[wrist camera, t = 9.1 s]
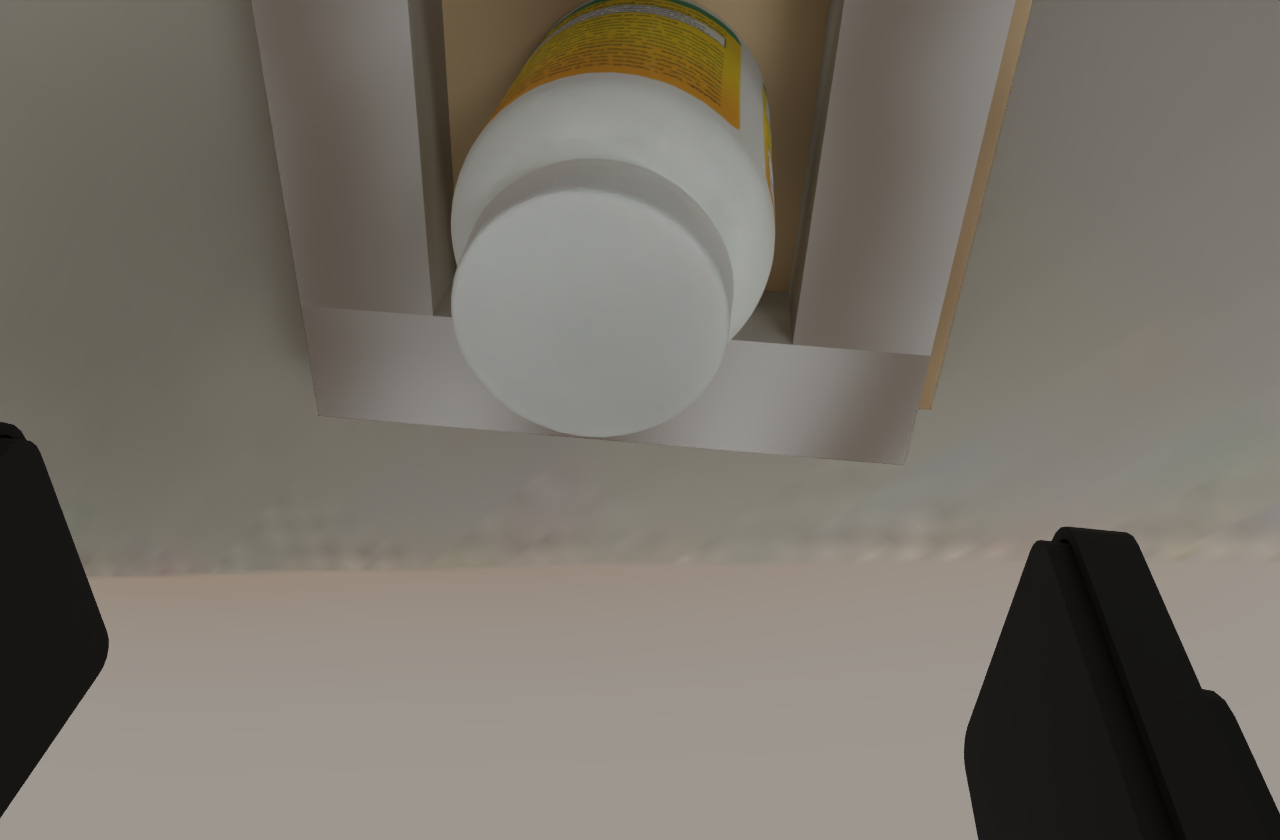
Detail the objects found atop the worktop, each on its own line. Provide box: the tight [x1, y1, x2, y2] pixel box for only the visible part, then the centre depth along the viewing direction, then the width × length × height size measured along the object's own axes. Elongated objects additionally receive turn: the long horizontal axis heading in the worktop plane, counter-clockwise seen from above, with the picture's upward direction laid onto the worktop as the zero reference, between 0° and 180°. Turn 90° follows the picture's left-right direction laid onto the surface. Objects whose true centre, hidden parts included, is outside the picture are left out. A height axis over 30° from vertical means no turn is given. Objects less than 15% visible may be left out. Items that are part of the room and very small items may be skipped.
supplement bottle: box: [451, 0, 775, 437], centre depth 18 cm, size 5×5×10 cm
